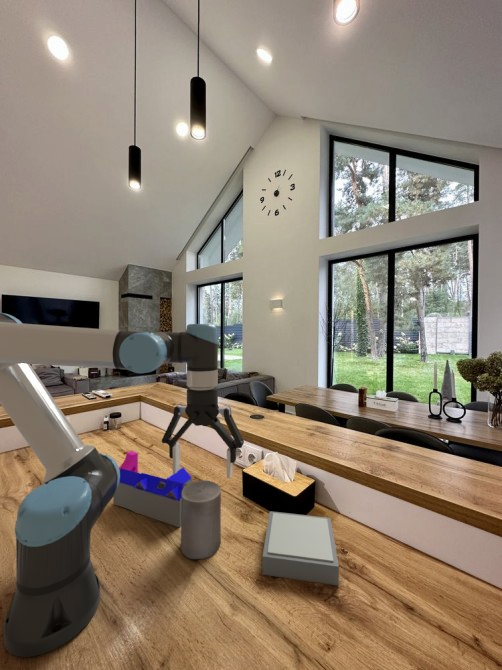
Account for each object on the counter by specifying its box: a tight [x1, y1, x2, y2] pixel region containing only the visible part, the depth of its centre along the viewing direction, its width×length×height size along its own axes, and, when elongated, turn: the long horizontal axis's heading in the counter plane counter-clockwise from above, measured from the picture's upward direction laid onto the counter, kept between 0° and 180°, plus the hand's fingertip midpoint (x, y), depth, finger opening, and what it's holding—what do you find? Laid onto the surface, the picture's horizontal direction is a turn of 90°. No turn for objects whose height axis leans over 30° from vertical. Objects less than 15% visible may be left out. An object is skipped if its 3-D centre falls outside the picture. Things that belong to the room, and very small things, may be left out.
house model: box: [112, 467, 193, 529], centre depth 90 cm, size 25×15×10 cm, turn 66°
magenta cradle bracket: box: [118, 450, 139, 473], centre depth 102 cm, size 15×6×8 cm, turn 148°
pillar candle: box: [180, 480, 222, 560], centre depth 72 cm, size 10×10×15 cm
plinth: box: [261, 511, 340, 586], centre depth 70 cm, size 16×16×4 cm
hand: (202, 473), depth 71 cm, fingers open, 13 cm apart
